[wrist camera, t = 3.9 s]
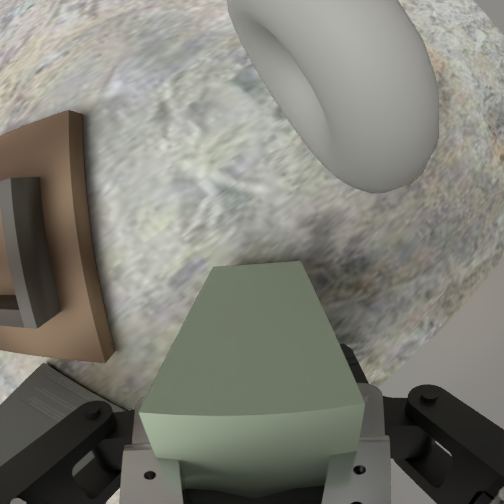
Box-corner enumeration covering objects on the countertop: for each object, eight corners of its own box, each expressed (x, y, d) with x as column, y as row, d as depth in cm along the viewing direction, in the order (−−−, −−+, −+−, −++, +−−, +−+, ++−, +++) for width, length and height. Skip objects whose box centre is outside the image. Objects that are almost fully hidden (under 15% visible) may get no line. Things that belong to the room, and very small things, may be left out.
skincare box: (39, 409, 19) (-59, 533, 4) (46, 350, 18) (-97, 493, 3) (126, 462, 20) (62, 615, 5) (150, 413, 19) (65, 617, 3)
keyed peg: (213, 266, 15) (138, 412, 5) (300, 260, 15) (364, 403, 5) (227, 375, 16) (199, 544, 6) (303, 371, 16) (334, 540, 6)
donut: (223, 42, 14) (183, -90, 4) (279, 14, 13) (294, -122, 4) (328, 202, 16) (426, 235, 6) (383, 169, 15) (522, 164, 5)
